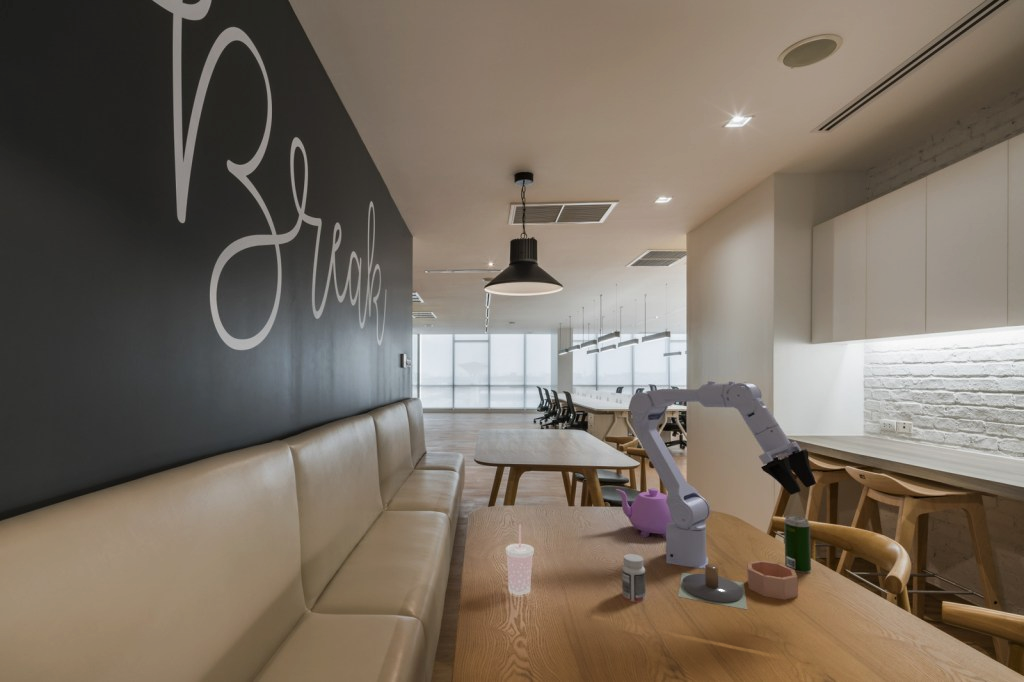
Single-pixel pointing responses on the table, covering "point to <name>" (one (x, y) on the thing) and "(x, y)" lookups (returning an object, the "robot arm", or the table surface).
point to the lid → (712, 586)
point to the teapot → (648, 512)
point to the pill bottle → (633, 578)
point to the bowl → (772, 579)
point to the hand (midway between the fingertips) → (803, 489)
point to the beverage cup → (519, 566)
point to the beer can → (797, 544)
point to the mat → (685, 594)
